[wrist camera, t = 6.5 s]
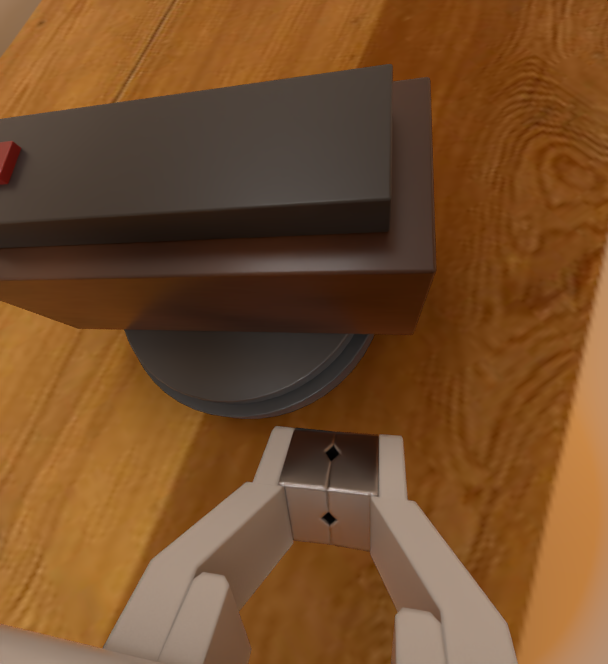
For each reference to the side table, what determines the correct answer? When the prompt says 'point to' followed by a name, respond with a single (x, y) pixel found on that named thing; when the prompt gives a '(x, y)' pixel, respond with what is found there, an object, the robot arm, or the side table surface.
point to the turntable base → (287, 401)
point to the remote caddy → (227, 224)
